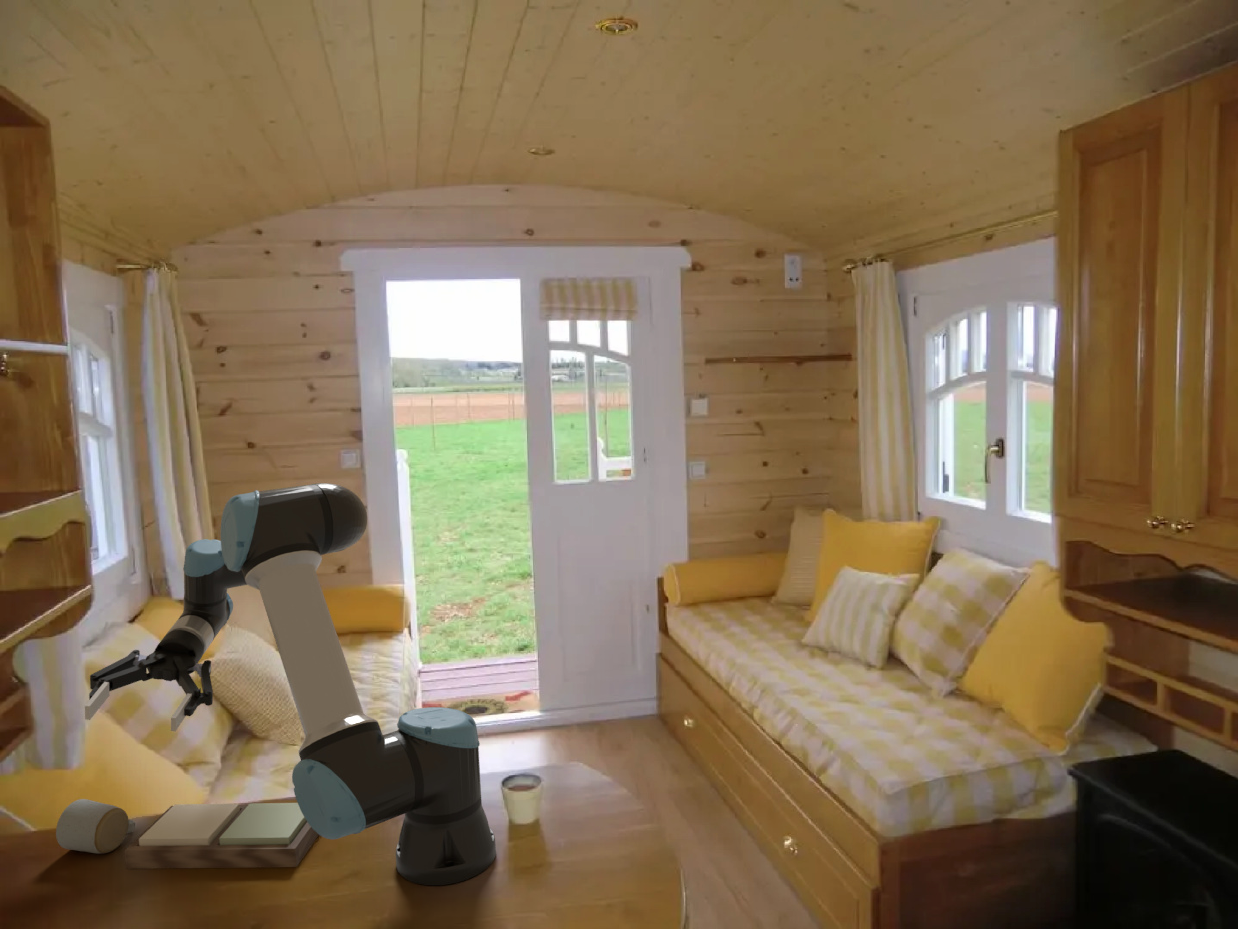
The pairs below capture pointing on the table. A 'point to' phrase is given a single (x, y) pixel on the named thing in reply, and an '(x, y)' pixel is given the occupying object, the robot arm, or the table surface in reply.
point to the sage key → (265, 825)
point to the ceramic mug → (92, 827)
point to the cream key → (190, 825)
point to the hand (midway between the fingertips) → (130, 719)
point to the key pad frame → (220, 853)
